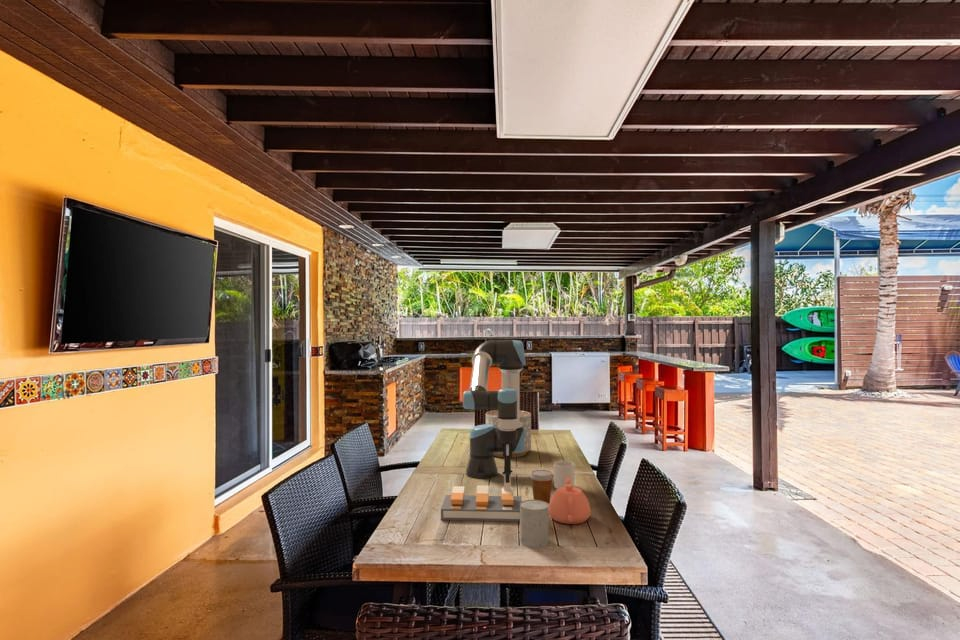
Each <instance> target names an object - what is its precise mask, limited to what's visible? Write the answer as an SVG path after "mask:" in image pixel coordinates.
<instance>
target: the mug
mask: <svg viewBox="0 0 960 640" xmlns="http://www.w3.org/2000/svg"><path fill="white" fill-rule="evenodd" d="M575 466H576V465H575V463H574V462H573V461H568V460H557V461H555V462H554V463H553V473H554V474H553V476H554V477H553V487H554V488H555V490H557V489H558V488H560V487H565V483H566V477H569V479H570V484H571V485H574V487H575V488H576V486H575V485H576V484H575V483H576V482H575V468H576V467H575Z"/></svg>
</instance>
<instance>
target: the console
mask: <svg viewBox="0 0 960 640" xmlns="http://www.w3.org/2000/svg"><path fill="white" fill-rule="evenodd" d="M450 499H451V494H445V496H444V499H443V502H442V504H441V507H440V521H470V522H471V521H474V522H515V523H517V522H519V523H520V503H521V502H522V501H523V500H522V496H520V495H513V499H514V505H501V495H489V497H488V506H476V495H474V494H473V495H469V494H468V495H467V494H466V495H465V494H464V499H463V505H462V504H451V502H450Z"/></svg>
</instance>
